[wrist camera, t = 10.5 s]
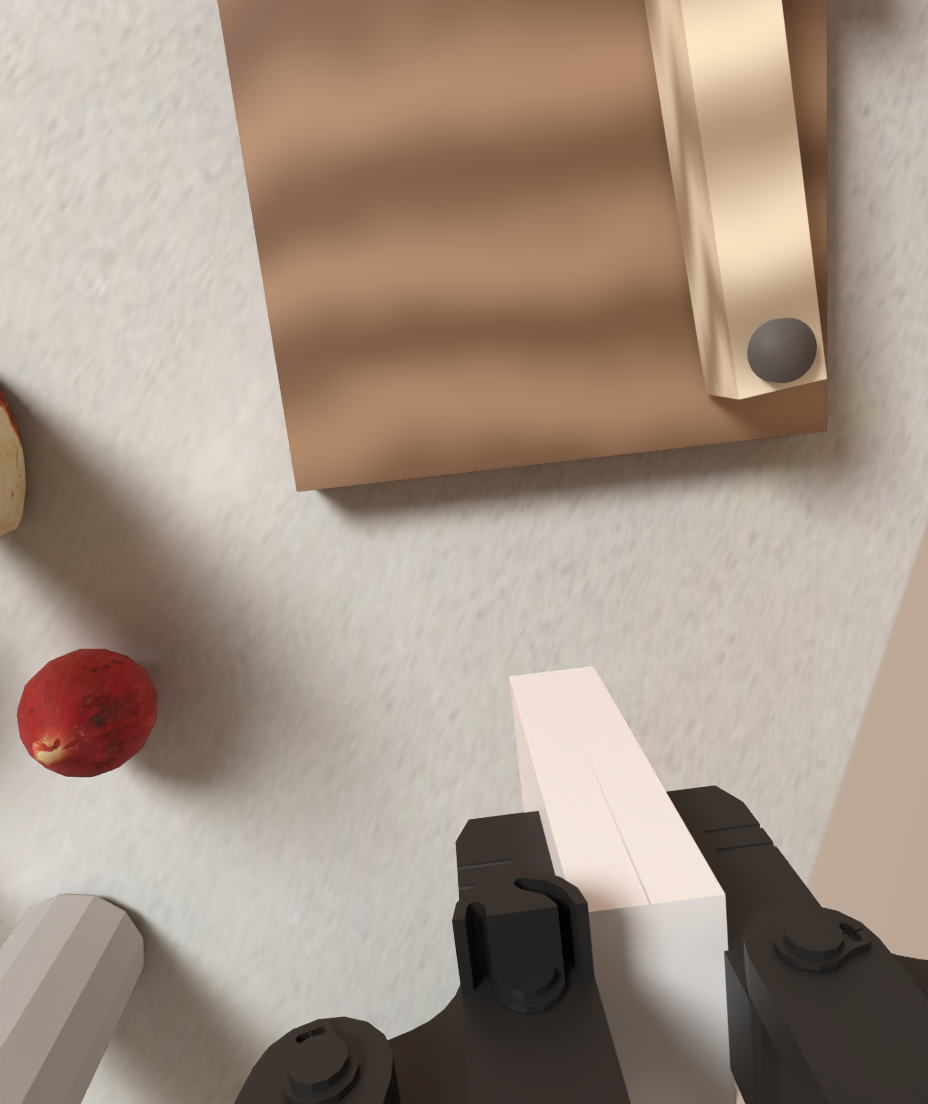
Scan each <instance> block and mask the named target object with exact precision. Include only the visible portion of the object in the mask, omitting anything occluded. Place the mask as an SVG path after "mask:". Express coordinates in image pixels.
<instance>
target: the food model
mask: <svg viewBox="0 0 928 1104" xmlns="http://www.w3.org/2000/svg"><path fill="white" fill-rule="evenodd" d="M25 490H26V477H25V462H24V455H23V449H22V442H21V437H20V434H19V431H18V429H17V426H16V423H15V420H14V417H13V414H12V411H11V409H10V407H9V405H8V403H7V401H6V399H5V396H4V394H3V392H2V390H1V388H0V536H1V535H3V534H6V533H8V532H10V531H12V530H15V529H16V528H17V526H18V525H19V523H20V521H21V519H22V516H23V507H24V499H25Z"/></svg>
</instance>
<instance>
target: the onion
mask: <svg viewBox="0 0 928 1104" xmlns="http://www.w3.org/2000/svg"><path fill="white" fill-rule="evenodd" d="M157 698H158V695H157V693H156V691H155V689H154V687H153V684H152V682H151V680H150V678H149V676H148V674H147V672H146V670H144V669H143V668H142V667H141V666H139V665H138V664H137V663H136V662H134V661H133V660H132V659H131V658H129V657H128V656H126V655H122V654H119V653H116V652H113V651H109V650H106V649H79V650H76V651H73V652H71V653H68V654H66V655H63V656H61V657H58V658H56V659H54V660H52V661H49V662H48V663H47V664H46V665H45V666H44V667H43V668H42V669H41V670H40V671H39V672H38V673H37V674H36V675H34V676H33V677H32V678H31V679H30V681H29V682H28V683H27V684H26V685H25V687H24V691H23V694H22V697H21V700H20V703H19V706H18V712H17V718H18V726H19V733H20V738H21V740H22V742H23V744H24V746H25V747H26V749H27V751H28V753H29V755H30V756H31V757H33V758H34V759H35V760H36V761H38V762H39V763H40V764H42V765H43V766H44V767H45V768H47V769H49V770H51V771H54V772H56V773H58V774H61V775H63V776H66V777H94V776H97V775H100V774H103V773H106V772H108V771H111V770H114V769H116V768H118V767H120V766H121V765H122V764H124V763H125V762H126V761H127V760H129V759H130V758H131V757H132V756H134V755H135V754H136V753H137V752H138V751H139V750H140V749H142V748H143V747H144V745H145V743H146V740H147V738H148V736H149V734H150V732H151V730H152V728H153V726H154V724H155V721H156V719H157Z"/></svg>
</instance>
